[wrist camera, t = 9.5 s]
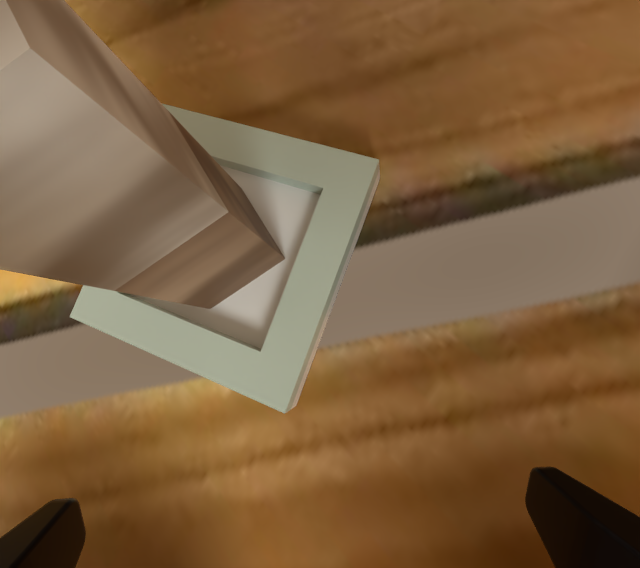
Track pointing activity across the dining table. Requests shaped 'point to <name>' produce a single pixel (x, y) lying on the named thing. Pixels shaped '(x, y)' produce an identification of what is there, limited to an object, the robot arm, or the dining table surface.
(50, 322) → the dining table surface
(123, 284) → the block stack
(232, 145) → the picture frame
